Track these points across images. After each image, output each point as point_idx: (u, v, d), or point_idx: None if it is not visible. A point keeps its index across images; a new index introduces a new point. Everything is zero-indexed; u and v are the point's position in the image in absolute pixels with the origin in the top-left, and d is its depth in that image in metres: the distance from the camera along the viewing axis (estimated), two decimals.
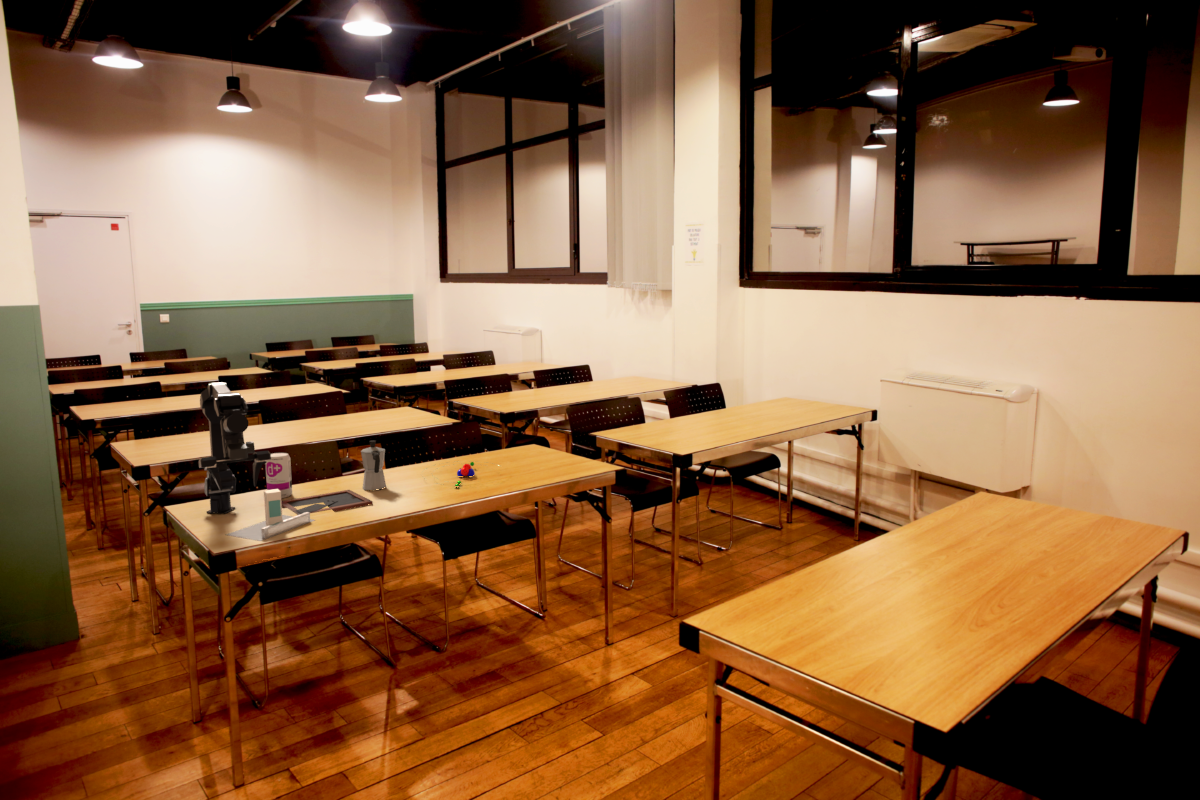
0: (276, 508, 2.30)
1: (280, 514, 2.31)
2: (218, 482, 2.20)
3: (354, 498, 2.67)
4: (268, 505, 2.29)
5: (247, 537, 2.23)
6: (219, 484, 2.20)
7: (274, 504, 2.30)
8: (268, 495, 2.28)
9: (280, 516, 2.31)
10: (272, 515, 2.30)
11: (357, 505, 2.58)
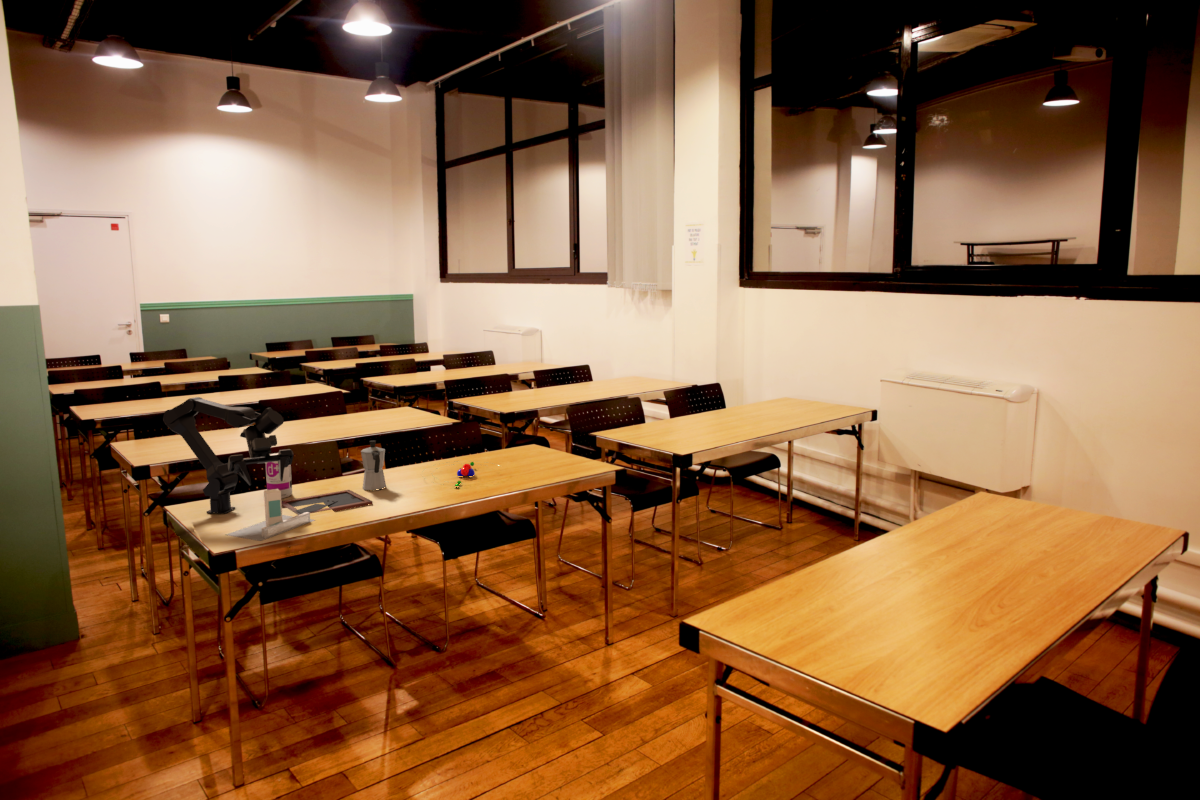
0: (276, 508, 2.30)
1: (280, 514, 2.31)
2: (247, 476, 2.34)
3: (354, 498, 2.67)
4: (268, 505, 2.29)
5: (247, 537, 2.23)
6: (248, 478, 2.34)
7: (274, 504, 2.30)
8: (268, 495, 2.28)
9: (280, 516, 2.31)
10: (272, 515, 2.30)
11: (357, 505, 2.58)
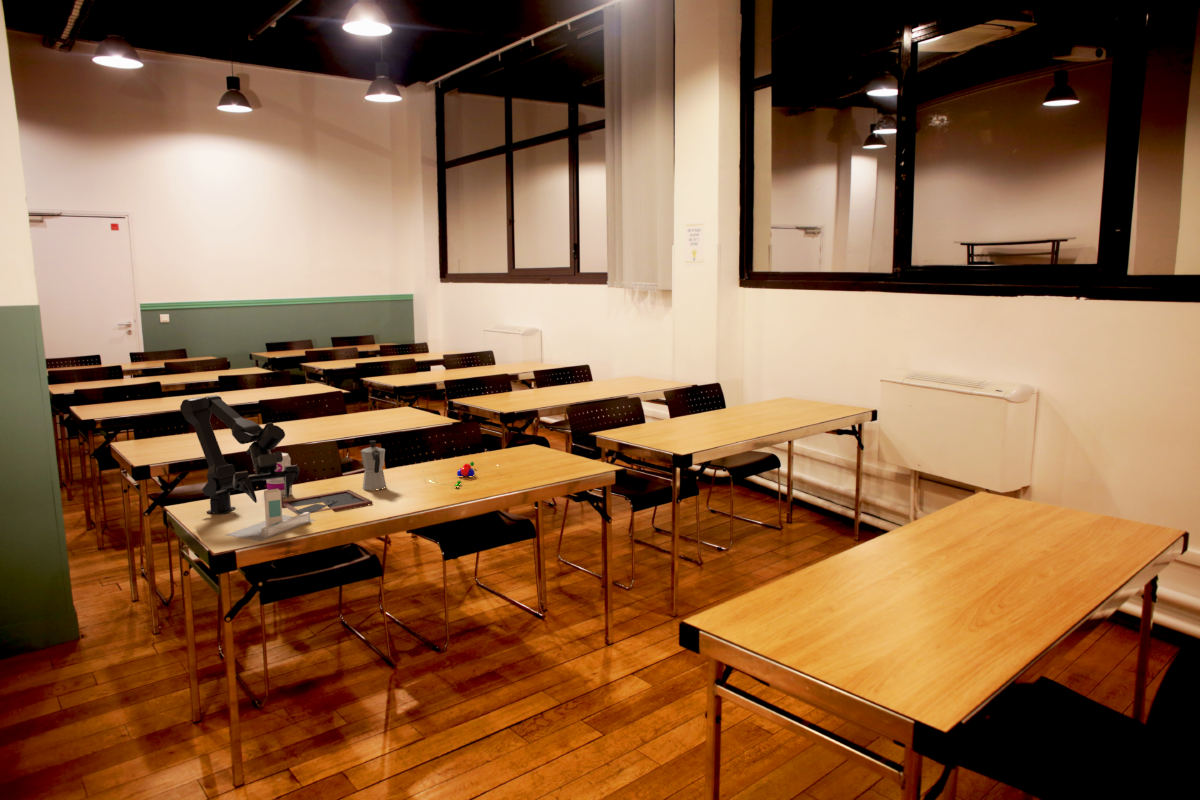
0: (276, 508, 2.30)
1: (280, 514, 2.31)
2: (252, 493, 2.30)
3: (354, 498, 2.67)
4: (268, 505, 2.29)
5: (247, 537, 2.23)
6: (253, 495, 2.30)
7: (274, 504, 2.30)
8: (268, 495, 2.28)
9: (280, 516, 2.31)
10: (272, 515, 2.30)
11: (357, 505, 2.58)
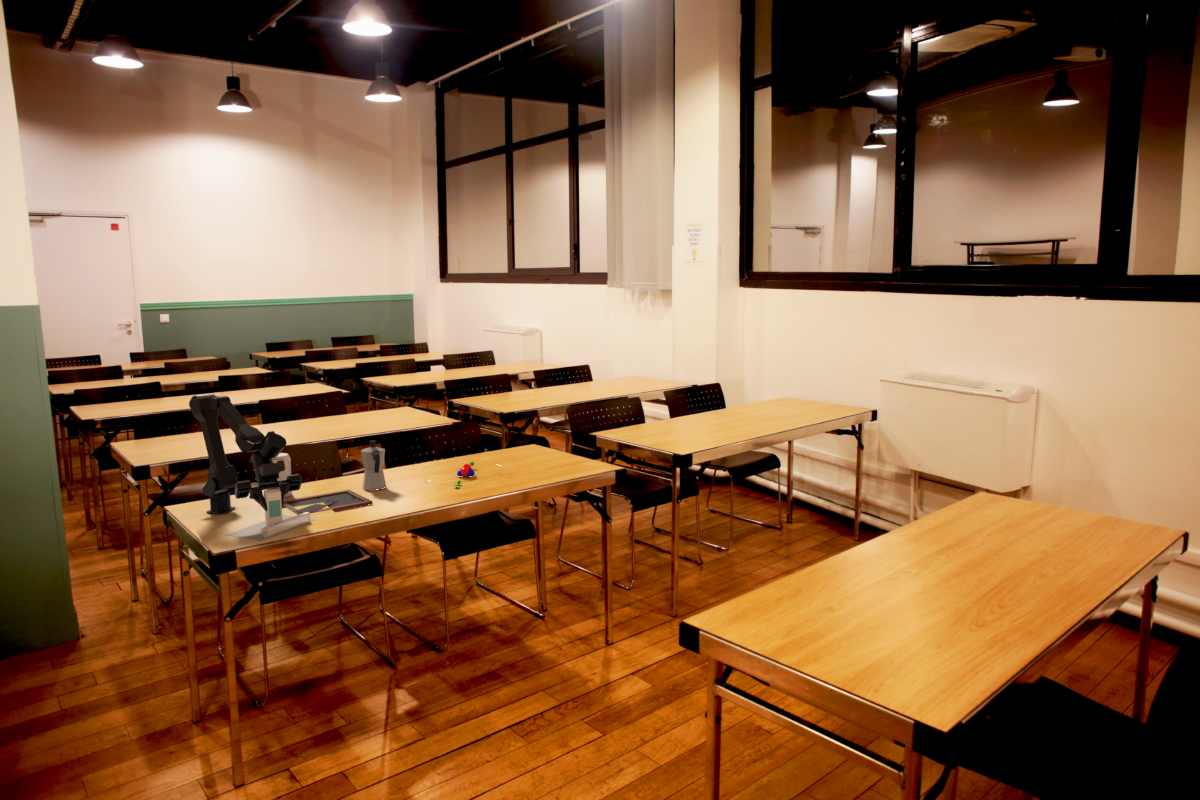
0: (276, 508, 2.30)
1: (280, 514, 2.31)
2: (263, 502, 2.29)
3: (354, 498, 2.67)
4: (268, 505, 2.29)
5: (247, 537, 2.23)
6: (264, 504, 2.29)
7: (274, 504, 2.30)
8: (268, 495, 2.28)
9: (280, 516, 2.31)
10: (272, 515, 2.30)
11: (357, 505, 2.58)
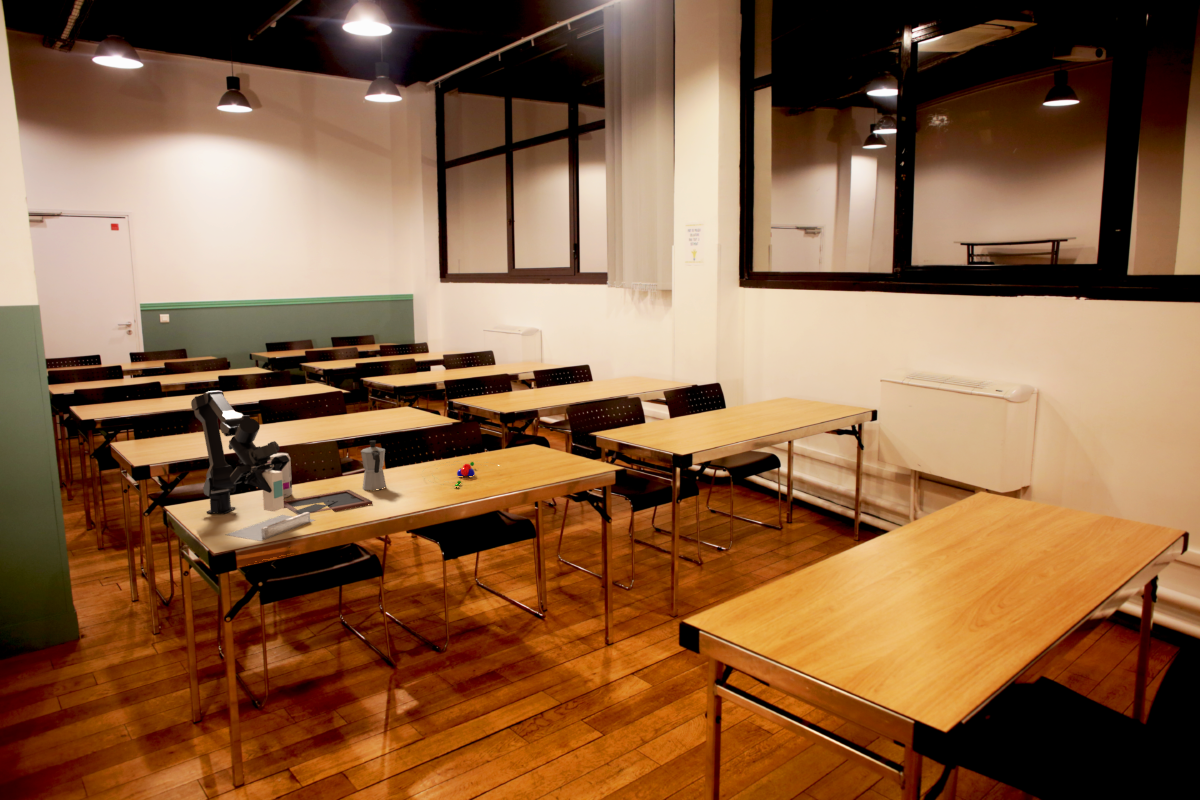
0: (278, 488, 2.30)
1: (282, 494, 2.32)
2: (266, 484, 2.28)
3: (354, 498, 2.66)
4: (273, 486, 2.28)
5: (247, 537, 2.23)
6: (267, 485, 2.28)
7: (278, 484, 2.30)
8: (273, 476, 2.28)
9: (282, 496, 2.32)
10: (276, 496, 2.29)
11: (357, 505, 2.58)
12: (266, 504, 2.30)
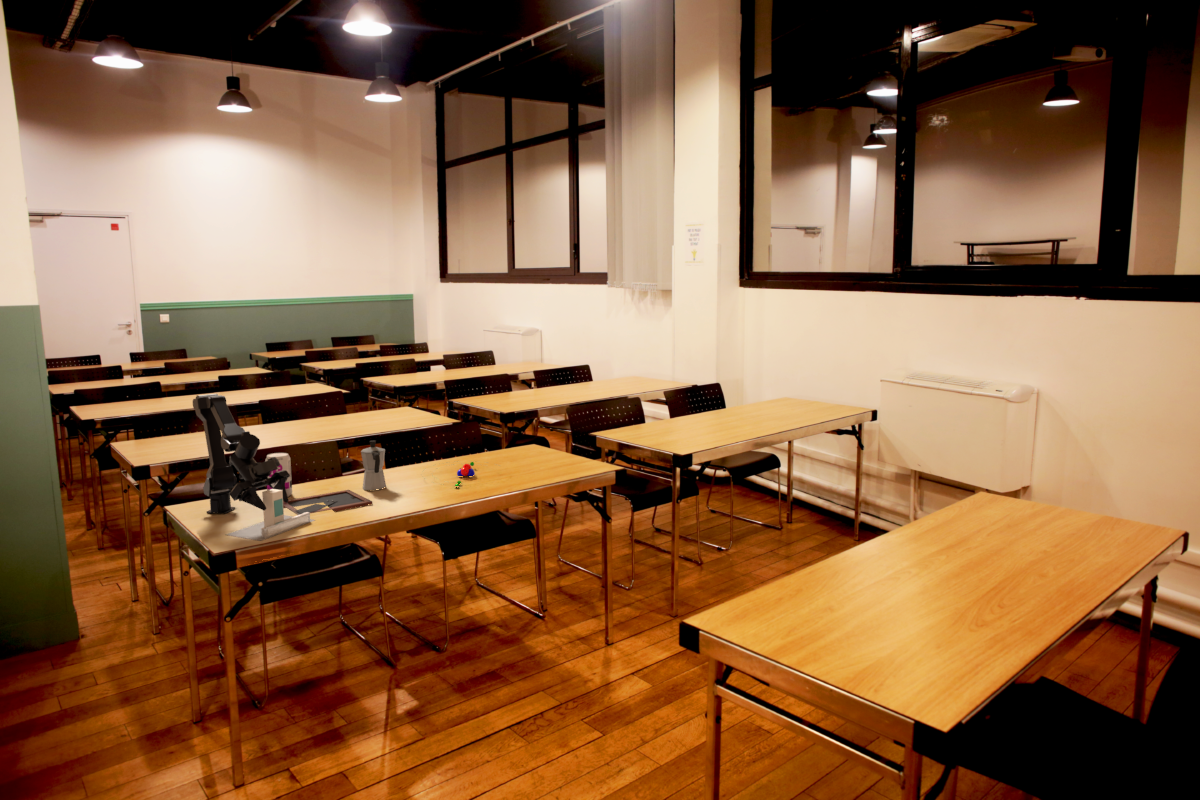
0: (279, 507, 2.31)
1: (282, 513, 2.32)
2: (260, 501, 2.26)
3: (354, 498, 2.66)
4: (273, 505, 2.29)
5: (247, 537, 2.23)
6: (262, 503, 2.27)
7: (278, 503, 2.31)
8: (273, 495, 2.29)
9: (282, 515, 2.33)
10: (276, 515, 2.30)
11: (357, 505, 2.58)
12: (267, 523, 2.31)
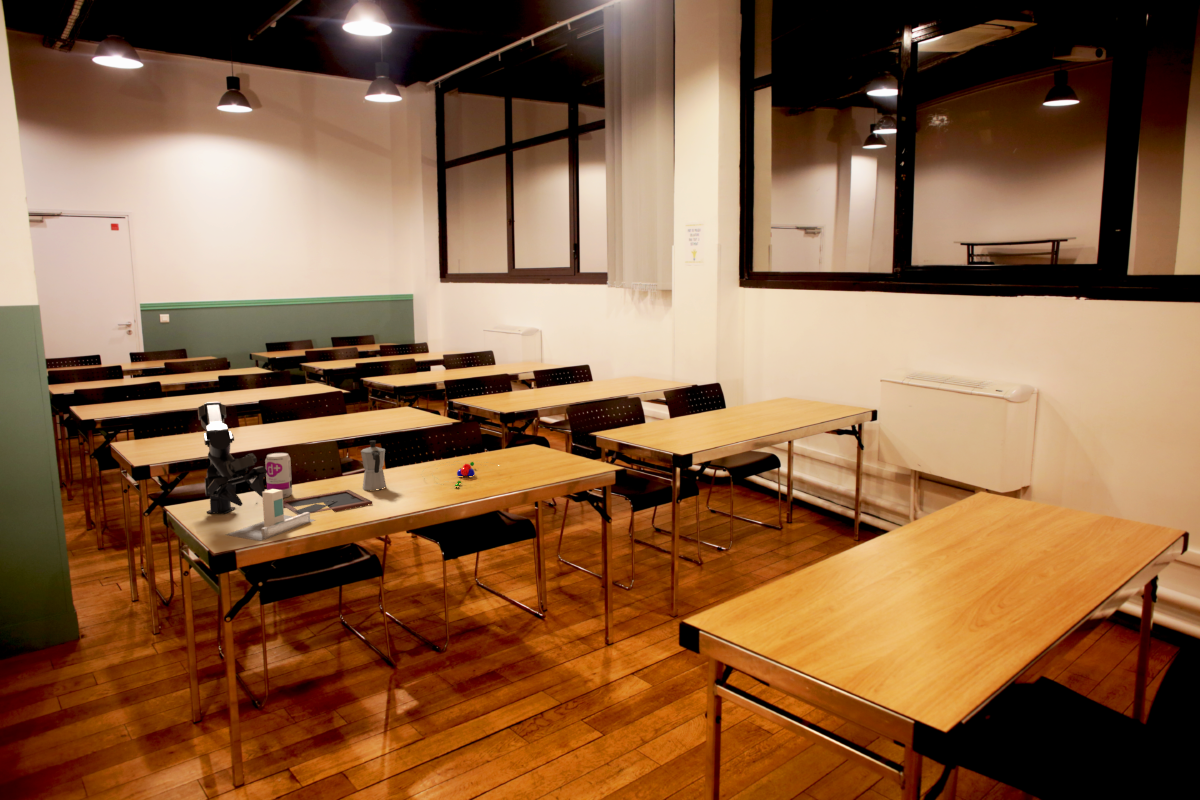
0: (279, 507, 2.31)
1: (282, 513, 2.32)
2: (236, 497, 2.30)
3: (354, 498, 2.66)
4: (273, 505, 2.29)
5: (247, 537, 2.23)
6: (238, 499, 2.30)
7: (278, 503, 2.31)
8: (273, 495, 2.29)
9: (282, 515, 2.33)
10: (276, 515, 2.30)
11: (357, 505, 2.58)
12: (267, 523, 2.31)
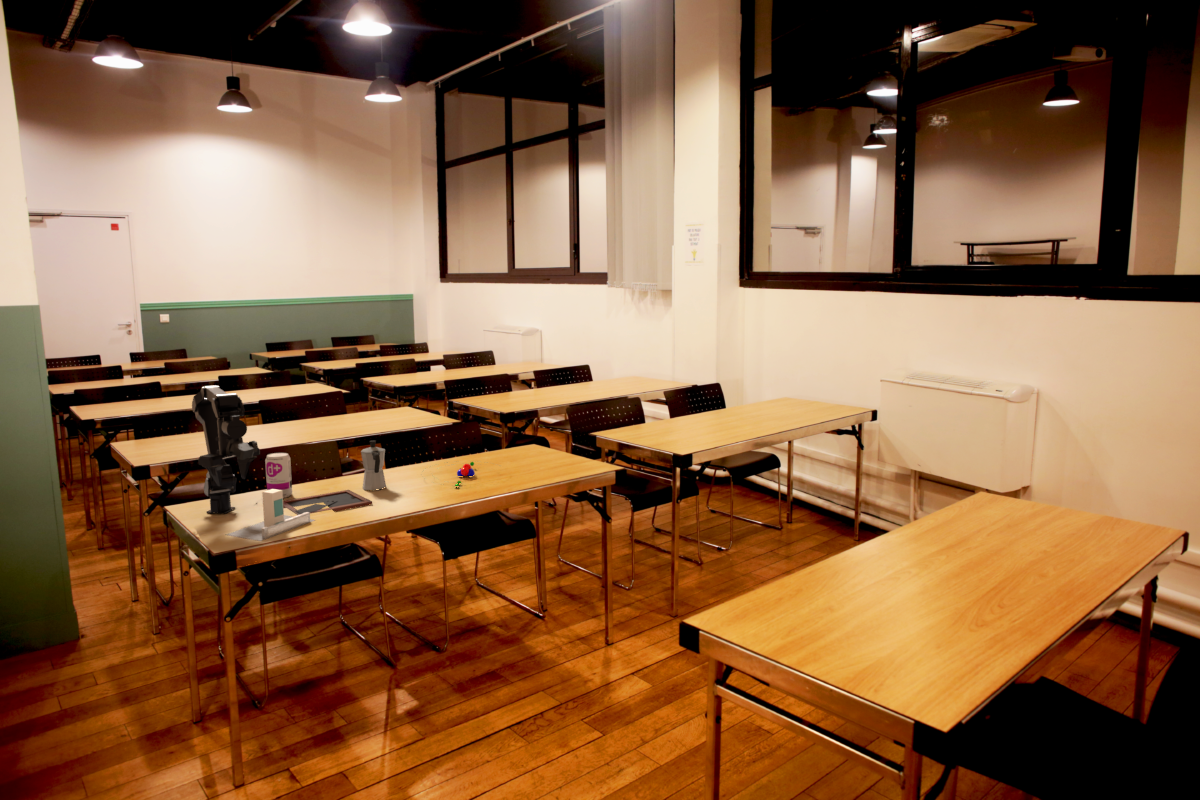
0: (279, 507, 2.31)
1: (282, 513, 2.32)
2: (219, 478, 2.34)
3: (354, 498, 2.66)
4: (273, 505, 2.29)
5: (247, 537, 2.23)
6: (220, 480, 2.34)
7: (278, 503, 2.31)
8: (273, 495, 2.29)
9: (282, 515, 2.33)
10: (276, 515, 2.30)
11: (357, 505, 2.58)
12: (267, 523, 2.31)
